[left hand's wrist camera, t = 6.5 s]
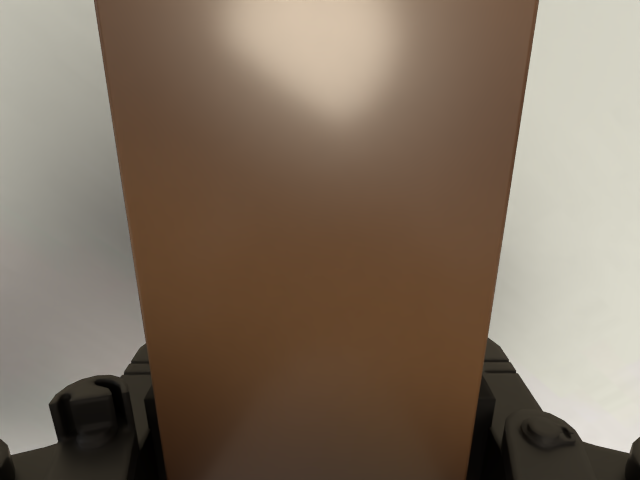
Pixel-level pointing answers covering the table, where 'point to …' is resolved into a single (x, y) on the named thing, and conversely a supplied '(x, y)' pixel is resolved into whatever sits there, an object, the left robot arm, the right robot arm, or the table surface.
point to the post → (316, 224)
